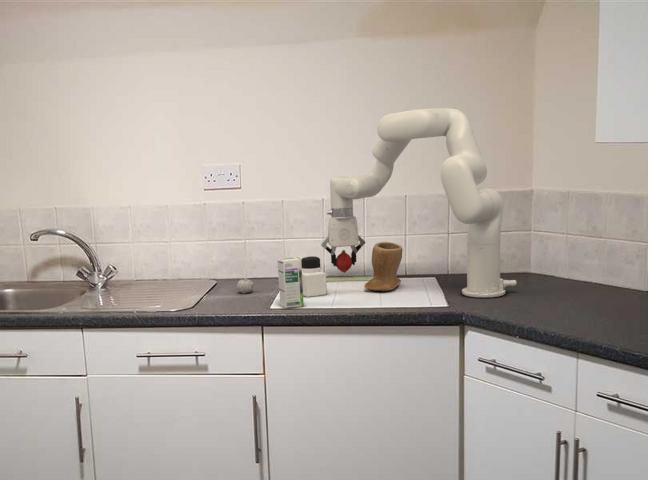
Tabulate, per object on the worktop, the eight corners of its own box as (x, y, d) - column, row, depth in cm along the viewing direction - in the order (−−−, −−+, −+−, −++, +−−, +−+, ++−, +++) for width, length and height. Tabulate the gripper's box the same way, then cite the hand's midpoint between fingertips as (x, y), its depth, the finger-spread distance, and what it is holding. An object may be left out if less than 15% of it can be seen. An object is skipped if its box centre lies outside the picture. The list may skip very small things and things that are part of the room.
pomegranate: (351, 274, 261) (351, 251, 259) (335, 274, 262) (334, 251, 261) (353, 271, 266) (352, 248, 265) (336, 271, 268) (335, 249, 266)
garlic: (252, 294, 247) (251, 278, 246) (236, 295, 248) (235, 279, 247) (254, 290, 253) (253, 275, 252) (238, 291, 254) (237, 276, 253)
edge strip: (373, 276, 266) (373, 276, 266) (373, 280, 260) (373, 279, 260) (316, 278, 269) (316, 277, 269) (315, 281, 263) (315, 280, 263)
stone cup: (397, 294, 235) (396, 246, 232) (360, 292, 241) (359, 245, 238) (410, 284, 249) (409, 239, 246) (375, 283, 254) (374, 239, 251)
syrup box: (285, 308, 224) (283, 260, 221) (279, 304, 230) (277, 257, 227) (303, 306, 226) (301, 258, 223) (297, 302, 231) (295, 255, 228)
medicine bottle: (327, 294, 241) (325, 257, 238) (306, 297, 238) (305, 259, 236) (317, 290, 247) (315, 254, 245) (297, 293, 245) (295, 256, 242)
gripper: (318, 215, 256) (320, 268, 260) (369, 212, 257) (370, 265, 260) (315, 213, 264) (317, 264, 267) (365, 210, 264) (366, 261, 268)
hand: (343, 264), depth 264 cm, fingers closed on pomegranate, 5 cm apart
